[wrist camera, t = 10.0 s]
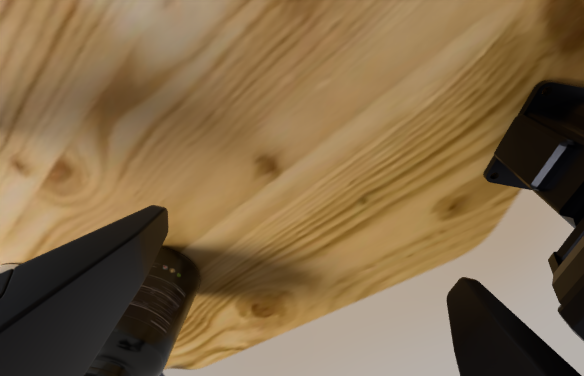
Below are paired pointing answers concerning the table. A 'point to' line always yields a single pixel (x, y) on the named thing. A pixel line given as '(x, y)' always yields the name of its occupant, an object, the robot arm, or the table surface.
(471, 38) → the table surface
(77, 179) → the table surface
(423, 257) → the table surface
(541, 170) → the robot arm
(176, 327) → the supplement bottle
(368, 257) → the table surface
